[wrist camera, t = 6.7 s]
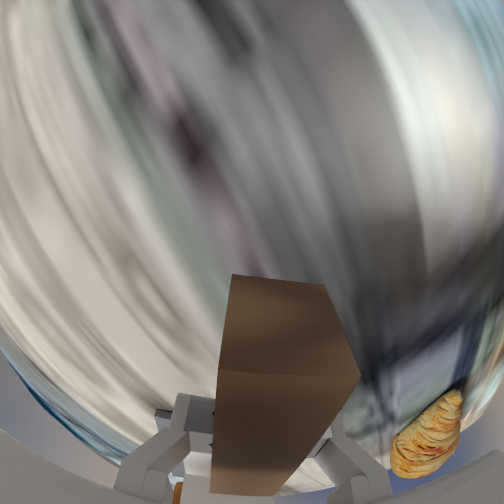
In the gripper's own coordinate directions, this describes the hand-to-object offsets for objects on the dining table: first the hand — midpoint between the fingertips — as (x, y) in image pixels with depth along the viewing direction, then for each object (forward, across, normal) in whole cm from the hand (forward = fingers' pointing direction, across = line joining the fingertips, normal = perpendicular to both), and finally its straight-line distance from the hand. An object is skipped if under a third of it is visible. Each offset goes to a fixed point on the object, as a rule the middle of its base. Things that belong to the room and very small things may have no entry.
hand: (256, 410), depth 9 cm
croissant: (+7, -24, +18) cm, 31 cm away
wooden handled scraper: (+2, 0, +4) cm, 4 cm away
